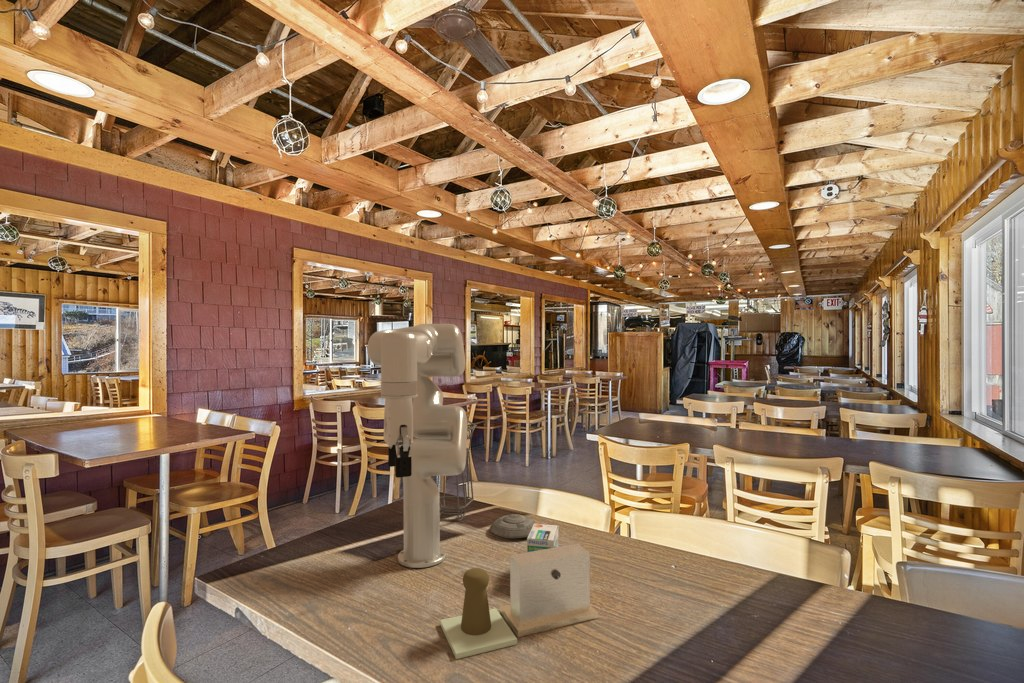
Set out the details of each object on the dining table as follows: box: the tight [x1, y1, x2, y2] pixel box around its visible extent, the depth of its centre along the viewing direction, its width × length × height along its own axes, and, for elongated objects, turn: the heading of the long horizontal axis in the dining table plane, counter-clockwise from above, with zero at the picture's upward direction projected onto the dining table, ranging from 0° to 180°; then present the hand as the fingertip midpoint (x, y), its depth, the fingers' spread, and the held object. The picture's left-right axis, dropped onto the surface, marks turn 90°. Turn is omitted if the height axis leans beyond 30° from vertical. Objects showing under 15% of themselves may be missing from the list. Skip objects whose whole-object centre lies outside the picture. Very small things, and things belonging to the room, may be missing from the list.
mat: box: [439, 607, 518, 660], centre depth 97 cm, size 12×12×1 cm
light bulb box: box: [526, 523, 560, 552], centre depth 123 cm, size 11×7×11 cm, turn 168°
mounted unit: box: [499, 543, 599, 638], centre depth 104 cm, size 10×18×13 cm, turn 112°
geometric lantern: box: [430, 419, 478, 522], centre depth 166 cm, size 16×16×35 cm
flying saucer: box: [489, 513, 538, 539], centre depth 151 cm, size 15×15×6 cm
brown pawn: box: [461, 567, 491, 635], centre depth 98 cm, size 6×6×11 cm
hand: (399, 471), depth 105 cm, fingers open, 9 cm apart
